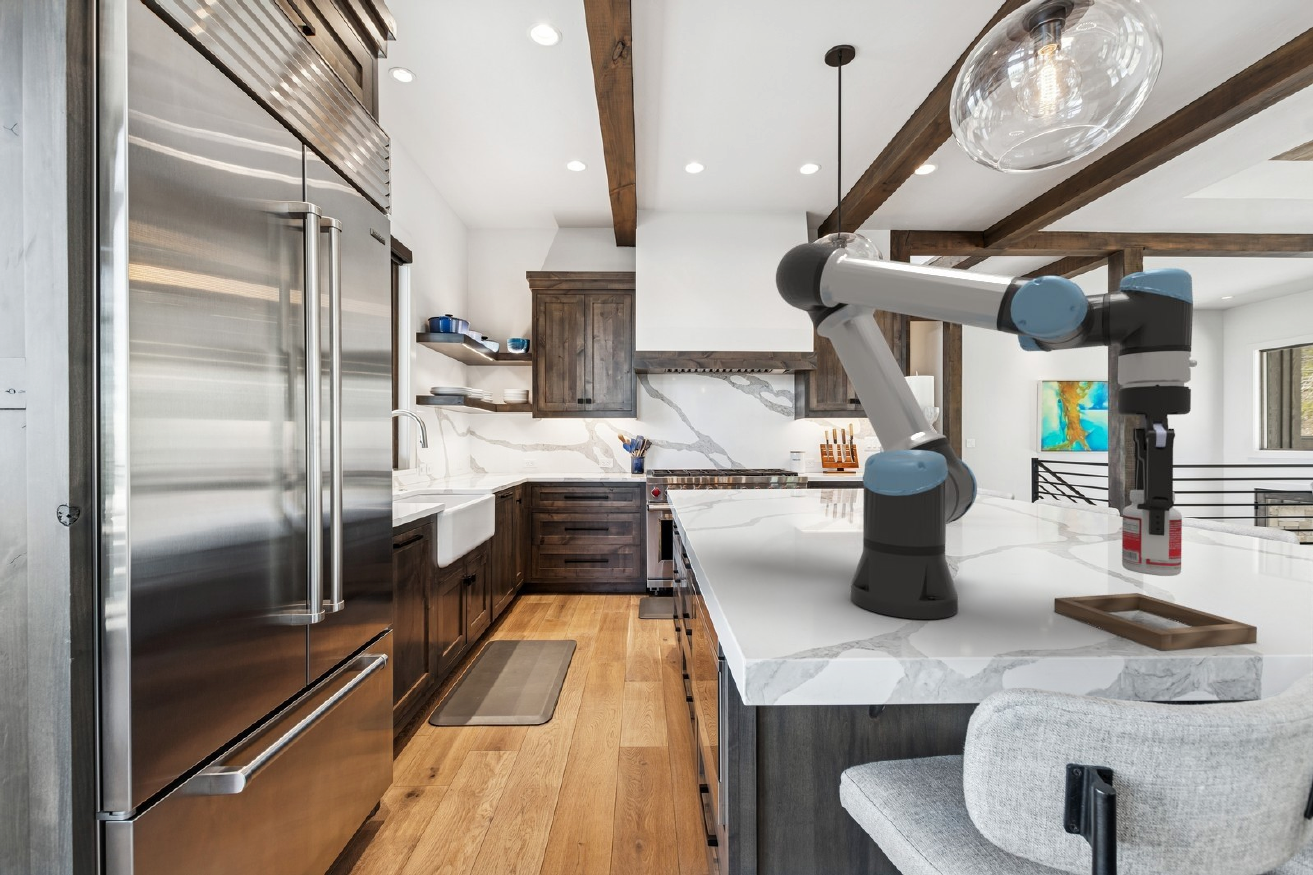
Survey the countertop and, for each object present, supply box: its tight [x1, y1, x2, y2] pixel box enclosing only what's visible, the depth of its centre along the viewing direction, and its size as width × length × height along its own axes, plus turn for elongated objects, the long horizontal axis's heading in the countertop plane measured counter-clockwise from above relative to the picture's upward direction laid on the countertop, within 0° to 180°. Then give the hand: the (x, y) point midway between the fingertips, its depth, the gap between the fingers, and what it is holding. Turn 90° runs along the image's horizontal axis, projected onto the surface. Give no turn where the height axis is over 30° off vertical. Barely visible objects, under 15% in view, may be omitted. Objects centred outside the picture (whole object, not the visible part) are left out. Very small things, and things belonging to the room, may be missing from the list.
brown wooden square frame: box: [1053, 592, 1258, 651], centre depth 79 cm, size 15×15×2 cm
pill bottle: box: [1121, 489, 1183, 577], centre depth 79 cm, size 6×6×11 cm
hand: (1150, 553), depth 79 cm, fingers closed on pill bottle, 6 cm apart
